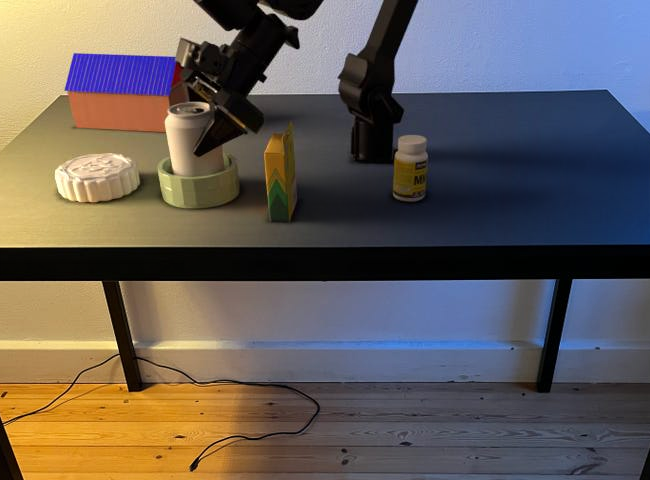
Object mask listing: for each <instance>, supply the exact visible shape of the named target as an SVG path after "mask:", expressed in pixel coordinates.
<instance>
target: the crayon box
mask: <svg viewBox="0 0 650 480" xmlns="http://www.w3.org/2000/svg"><path fill="white" fill-rule="evenodd" d="M263 156H264V168H265V180H266V193H267V204H268V215H269V221H270V222H291V218H292V216H293V213H294V210H295V208H296V204H297V201H298V196H297V195H298V194H297V178H296V177H297V176H296V162H295V159H296V158H295V145H294V130H293V121H292V120H290V121H289V123H288V125H287V127H286V129H285V131H284V133H273V134H272V136H271V138H270V140H269V142H268V144H267V147H266V149H265V151H264V154H263Z"/></svg>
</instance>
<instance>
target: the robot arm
mask: <svg viewBox="0 0 650 480" xmlns="http://www.w3.org/2000/svg"><path fill="white" fill-rule="evenodd" d="M324 1H325V0H192V2H194V3H195V4H196V5H197V6H198V7H199V8H200V9H201V10H203V12H205V13H206V14H207V15H208V16H209V17H210V19H212V20H213V21H214V22H215V23H216V24H218V25H219V27H221V28H222V29H223V30H224V31H225V32H231V31H234V30H235V31H237V32H238V31H239V32H238V33H237V35H236V36H235V37H234V39H233V40H232V42H231V43H230V44H227V43H224V44H223V43H222V44H221V45H220V46H218V45H217V44H215V43H211V42H209V41H207V40H204V41H202V43H201V44H200V43H198V42H194V41H192V40H190V39H187V38H184V37H179V40H178V45H177V49H176V53H175V55H174V57H175V60H174V61H175V62H179V63H180V64H181V66H182V67H184V69H183V71H182V72H181V74H180V75H179V76H180V77H181V78H182V79H183V80H185V81H186V82H187V83H188V84H187V85H186V84H185V83H184V82H182V86H183V88H184V92H185V97H186V101H185V103H186V102H203V103H208V104H209V109H210V119H209V121H208V123H207V125H206V127H205V128H204V130H203V132H202V134H201V136H200V138H199V140H198V141H197V143H196V145H195V148H194V150H193V154H194V155H195V156H197V157H201V156H203V155H204V154H206V153H208V152H210V151H212V150H213V149H215V148H217V147H219V146H221V145H222V146H223V145H224V144H226V143H228V142H230V141H233V140H235V139H237V138H239V137H241V136H243V135H246V136H247V135H248V134H249V133H250V132H249V131H251V132H252V133H253V134H255V135H257V134H259V131H260V130H261V129H262V127H263V126H264V124H265V114H264V112H263V111H262V110H260V108H258V107H257V106H256V105H255V104H253V103H252V102H251V101H250V100H249V99H248V96H249V95H250V93H251V92H252V90H254V88H255V86H256V85H257V83H258V82H260V83H261V84H264V83H265V82H266V81H267V79H268V76H267V75H266V74H265V72H266V71H267V69H268V68H269V66H270V65H271V64H272V63H273V60H275V58H276V56H278V53H279V52H280V51H281V49H282V48H283V46H284V45H286V46H288V47H290V48H292V49H294V50H298V51H299V50H300V49H301V44H300V39H299V28H298V27H297V26H294V25H291V24H290V25H287V24H286V23H285V22H284V21H283V20H282V19H281V18H280V17H279V16H278V15H277V14H279V15H280V16H284V17H286V18H289V19H290V20H291V19H292V20H294V21H300V22H301V21H307V20H309V19H310V18H312V17H313V16H314V15H315V14H316V12H317V11H318V9H319V8H320V7H321V5H322V4H323V2H324ZM419 1H420V0H383V1H382V3H381V6H380V8H379V11H378V13H377V16H376V18H375V20H374V24H373V26H372V29H371V31H370V34H369V36H368V38H367V42H366V44H365V46H363V48H362V49H361V50H360V51H359V52H358V53H357V54H354V53H352V52H348V53H347V55H346V57H345V60H344V63H343V68H342V69H341V72H340V73H339V75H338V76H337V79H338V80H339V83H338V89H337V92H338V94H339V97H340V100H341V101H342V103H343V104H345V105H346V108H347V111H348V113H349V114H350V115H353V116H355V117H354V120H353V121H354V123H353V124H352V125H351V128H350V154H351V155H352V162H357V163H358V162H360V163H394V161H393V160H394V125H397V124H401V122H402V119H403V116H404V113H405V108H403V107H402V105H401V104H400V103H399V102H398V101H397V100H396V99H395V98H394V96H393V95H392V94H393V91H394V90H393V89H394V87H395V82H396V71H395V70H396V69H395V66H396V65H395V64H396V63H395V62H396V61H395V60H396V58H397V54H398V52H399V50H400V47H401V45H402V42H403V40H404V38H405V35H406V32H407V30H408V28H409V25H410V22H411V21H412V18H413V15H414V13H415V10H416V8H417V7H418V3H419ZM258 4H259V5H261V6H264V7H267V8H270V9H271V10H272V11H273V12H275V13H273V12H270V13H266V12H265V11H264V10H263V9H262V8H261V7H260V6H259V5H258ZM276 13H277V14H276ZM218 106H220V107H218ZM247 129H248V130H249V131H248V130H247Z"/></svg>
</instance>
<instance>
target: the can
mask: <svg viewBox="0 0 650 480" xmlns="http://www.w3.org/2000/svg"><path fill="white" fill-rule="evenodd" d="M167 112H168V113H169V115H168V117H167V118H166V120H165V127H166V132H165V133H166V138H167V144H168V150H169V156H171V162H172V167H173V173H174V175H176V176H182V177H200V176H208V175H212V174H216V173H219V172H222V171H224V170H225V166H224V158H223V152H224V151H223V145H221V146H219V147H217V148H215V149H213V150H212V151H210V152H208V153H206V154H204V155H203V156H201V157H197V156H195V155H194V154H193V150H194V148H195V145H196V143H197V141H198V140H199V138H200V136H201V134H202V132H203V130H204V128H205V127H206V125H207V123H208V121H209V119H210V109H209V104H208V103H203V102H186V103H180V104H176V105H174V106H171V107H170V108H169V109H168V111H167Z"/></svg>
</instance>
